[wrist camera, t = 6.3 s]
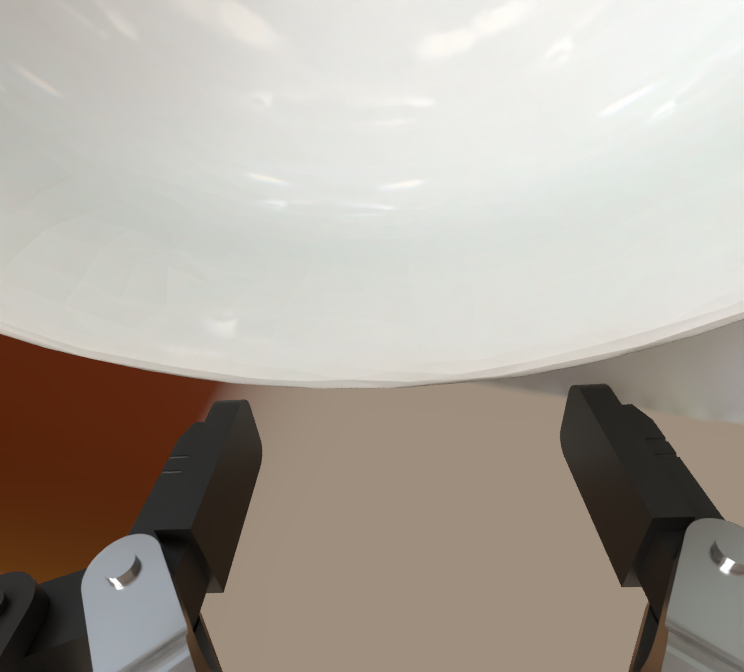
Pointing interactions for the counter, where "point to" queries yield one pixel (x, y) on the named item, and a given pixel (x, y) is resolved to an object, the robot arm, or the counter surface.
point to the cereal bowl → (369, 184)
